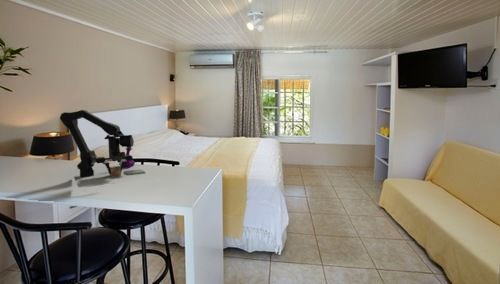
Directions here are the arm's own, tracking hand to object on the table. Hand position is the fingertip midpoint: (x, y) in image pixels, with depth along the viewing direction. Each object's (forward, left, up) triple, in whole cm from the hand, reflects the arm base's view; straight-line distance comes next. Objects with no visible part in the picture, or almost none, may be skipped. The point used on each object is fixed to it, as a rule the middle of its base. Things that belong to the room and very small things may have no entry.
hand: (115, 173), depth 170 cm
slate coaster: (+11, +2, -1) cm, 11 cm away
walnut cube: (0, 0, -1) cm, 1 cm away
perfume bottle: (+11, +21, -1) cm, 24 cm away
